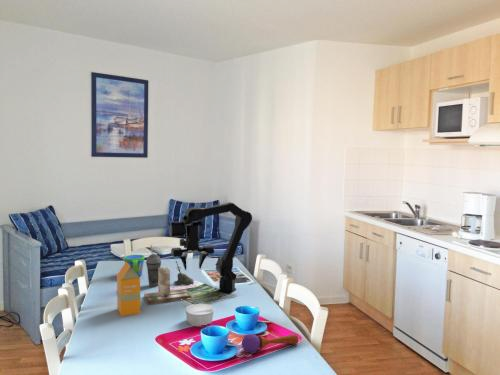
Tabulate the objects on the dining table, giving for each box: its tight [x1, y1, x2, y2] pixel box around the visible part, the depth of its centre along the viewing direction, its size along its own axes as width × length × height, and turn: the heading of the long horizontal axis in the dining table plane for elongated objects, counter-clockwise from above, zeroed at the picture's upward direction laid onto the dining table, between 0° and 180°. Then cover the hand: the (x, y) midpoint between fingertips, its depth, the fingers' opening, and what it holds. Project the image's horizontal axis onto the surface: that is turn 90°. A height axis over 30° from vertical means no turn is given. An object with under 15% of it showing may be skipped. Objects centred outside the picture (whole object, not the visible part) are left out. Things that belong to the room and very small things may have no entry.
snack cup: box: [123, 254, 146, 277], centre depth 224 cm, size 16×10×10 cm
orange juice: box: [116, 261, 141, 317], centre depth 174 cm, size 8×9×20 cm
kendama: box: [241, 333, 299, 354], centre depth 144 cm, size 6×6×20 cm
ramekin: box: [185, 303, 215, 327], centre depth 165 cm, size 11×11×5 cm
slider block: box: [157, 266, 171, 297], centre depth 189 cm, size 4×8×11 cm, turn 23°
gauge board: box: [143, 288, 192, 305], centre depth 191 cm, size 19×10×2 cm, turn 113°
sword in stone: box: [174, 260, 195, 286], centre depth 213 cm, size 10×8×12 cm
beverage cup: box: [145, 244, 162, 288], centre depth 208 cm, size 7×7×20 cm
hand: (192, 269), depth 195 cm, fingers open, 6 cm apart
